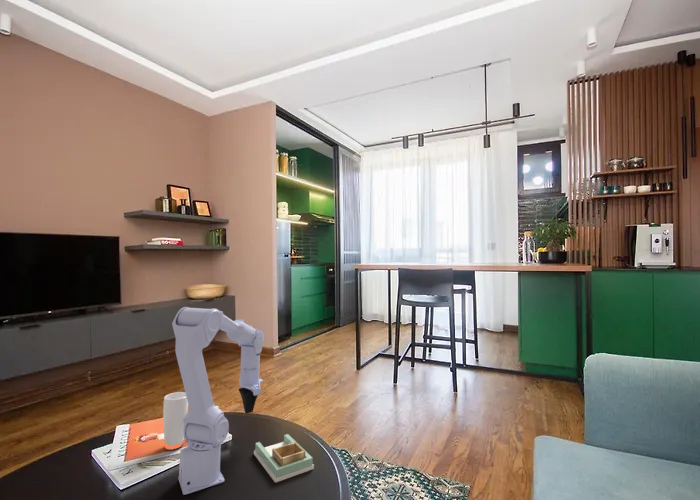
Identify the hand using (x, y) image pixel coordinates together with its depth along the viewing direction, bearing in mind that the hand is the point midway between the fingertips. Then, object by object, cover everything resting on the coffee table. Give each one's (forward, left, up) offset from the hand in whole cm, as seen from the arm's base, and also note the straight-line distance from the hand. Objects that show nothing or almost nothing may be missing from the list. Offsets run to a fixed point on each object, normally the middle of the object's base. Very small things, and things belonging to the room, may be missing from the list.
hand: (248, 412), depth 106 cm
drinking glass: (-19, +10, -10) cm, 24 cm away
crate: (+5, -19, -8) cm, 21 cm away
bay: (+5, -15, -9) cm, 18 cm away
